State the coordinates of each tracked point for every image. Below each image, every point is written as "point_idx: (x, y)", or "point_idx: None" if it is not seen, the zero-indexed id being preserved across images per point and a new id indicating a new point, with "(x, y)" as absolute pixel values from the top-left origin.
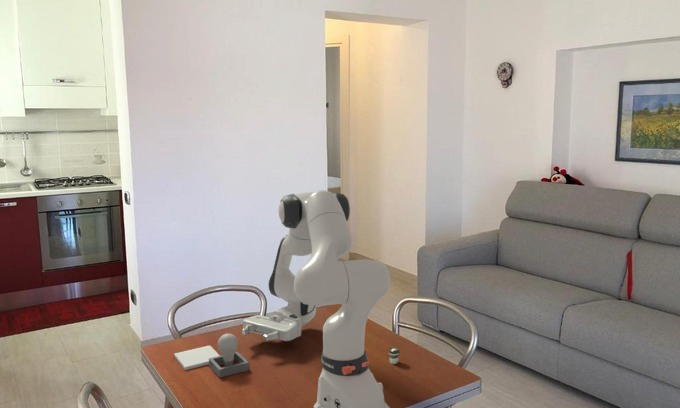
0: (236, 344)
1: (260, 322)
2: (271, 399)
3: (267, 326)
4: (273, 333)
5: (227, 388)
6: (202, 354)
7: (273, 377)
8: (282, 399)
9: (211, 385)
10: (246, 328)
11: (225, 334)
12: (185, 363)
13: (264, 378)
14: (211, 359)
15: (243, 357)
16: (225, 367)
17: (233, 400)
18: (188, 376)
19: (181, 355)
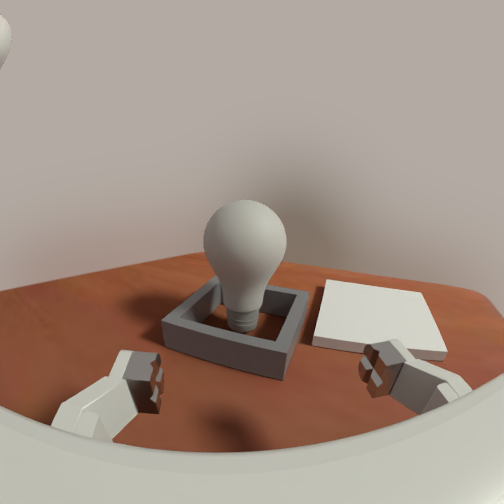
0: (204, 241)
1: (435, 458)
2: (52, 284)
3: (236, 455)
4: (87, 391)
5: (160, 283)
6: (383, 319)
7: (65, 337)
8: (32, 288)
9: (204, 279)
10: (400, 358)
11: (253, 201)
12: (347, 285)
13: (89, 328)
14: (296, 292)
15: (211, 334)
16: (211, 284)
17: (122, 269)
18: (288, 280)
19: (402, 295)
